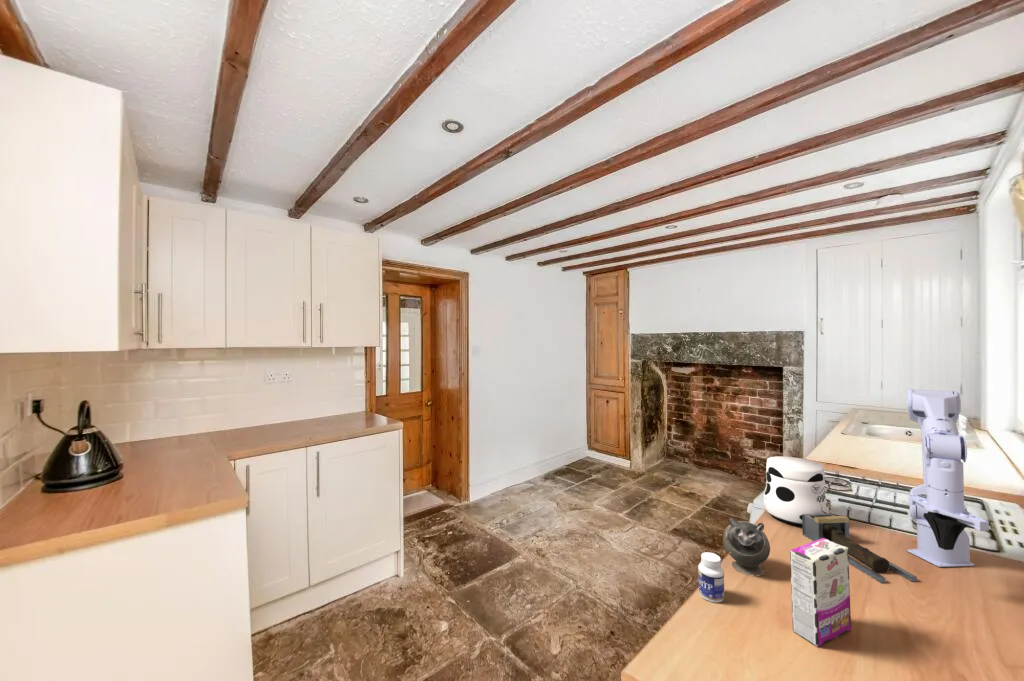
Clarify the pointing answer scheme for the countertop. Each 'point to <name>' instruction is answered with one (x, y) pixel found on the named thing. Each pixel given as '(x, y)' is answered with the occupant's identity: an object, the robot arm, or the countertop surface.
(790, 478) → the white spotted cookie jar
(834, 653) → the countertop surface
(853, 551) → the dark brown log
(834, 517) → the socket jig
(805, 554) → the candy bar box
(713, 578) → the pill bottle
